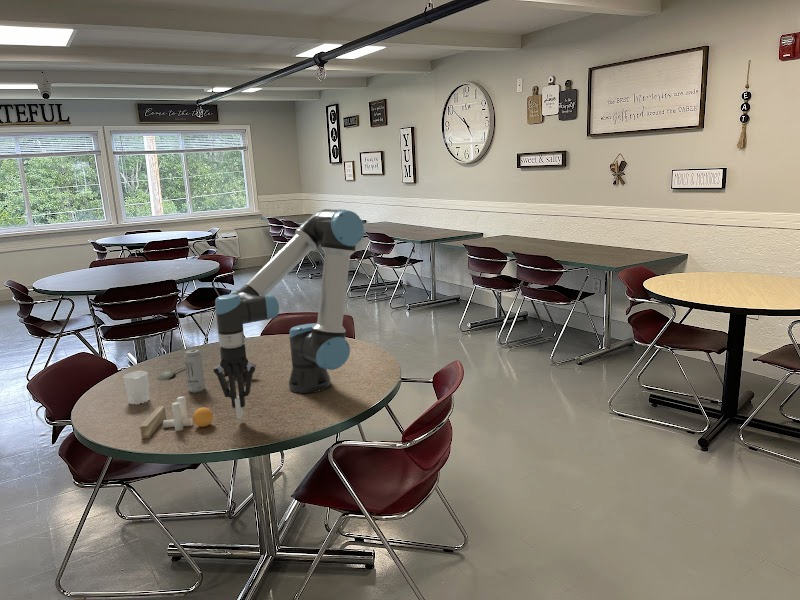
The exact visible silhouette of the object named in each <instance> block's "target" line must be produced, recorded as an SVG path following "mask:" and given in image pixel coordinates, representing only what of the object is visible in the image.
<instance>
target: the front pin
mask: <svg viewBox="0 0 800 600" xmlns="http://www.w3.org/2000/svg"><path fill="white" fill-rule="evenodd" d="M187 418H188V417H187ZM193 422H194V421H193V417H192V418H191V417H190V418H188V419H182V423H183V427H192V426H193ZM162 428H163V429H164V428H175V425H174V418H173V419H172V418H171V419H164V420H163V422H162Z"/></svg>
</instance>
